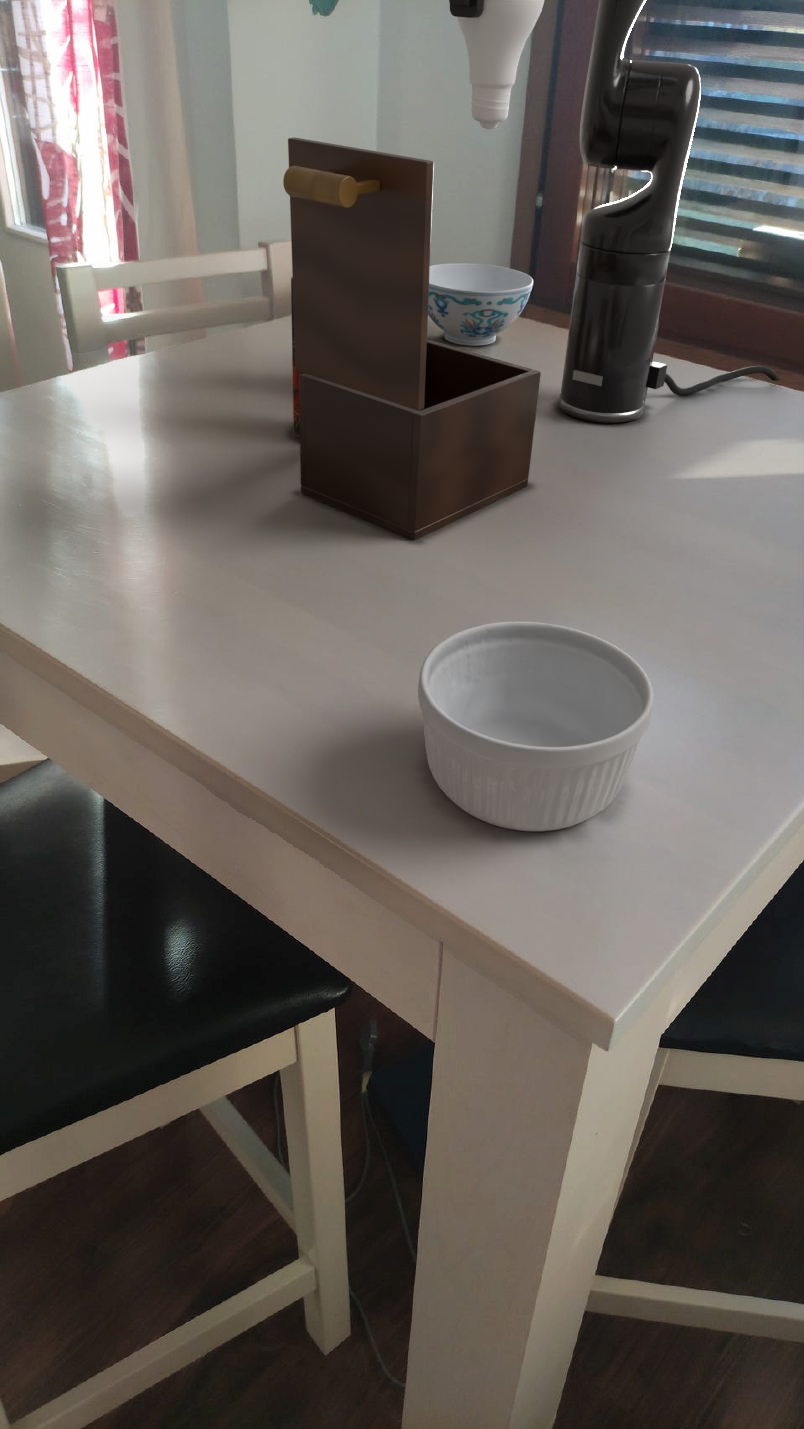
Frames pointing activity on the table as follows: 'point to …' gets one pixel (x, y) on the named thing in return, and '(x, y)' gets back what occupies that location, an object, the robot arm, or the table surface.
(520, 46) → the lightbulb
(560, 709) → the ramekin
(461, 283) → the chinaware
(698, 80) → the robot arm
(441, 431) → the chest
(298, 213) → the lid
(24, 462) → the table surface
